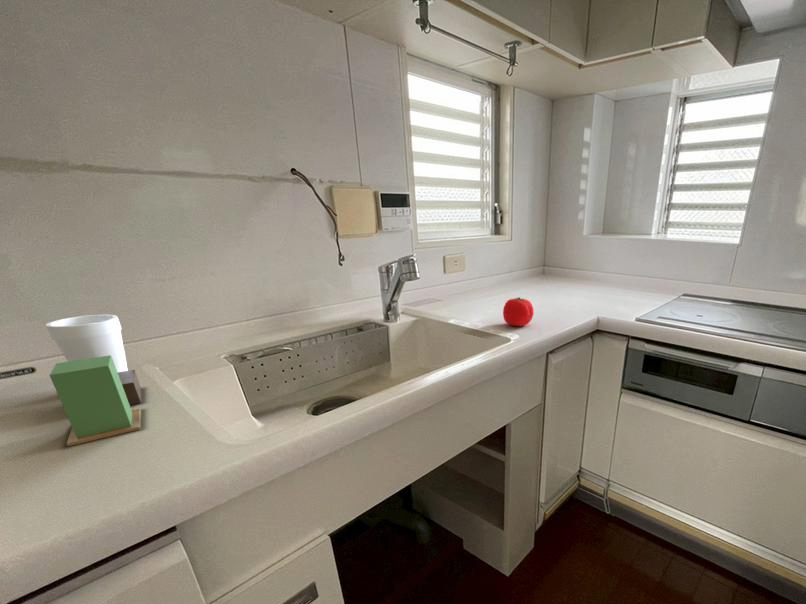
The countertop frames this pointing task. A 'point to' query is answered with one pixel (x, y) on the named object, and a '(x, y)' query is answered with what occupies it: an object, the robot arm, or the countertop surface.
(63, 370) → the green block
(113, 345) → the foam cup
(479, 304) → the countertop surface
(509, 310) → the tomato
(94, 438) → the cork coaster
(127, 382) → the walnut base
